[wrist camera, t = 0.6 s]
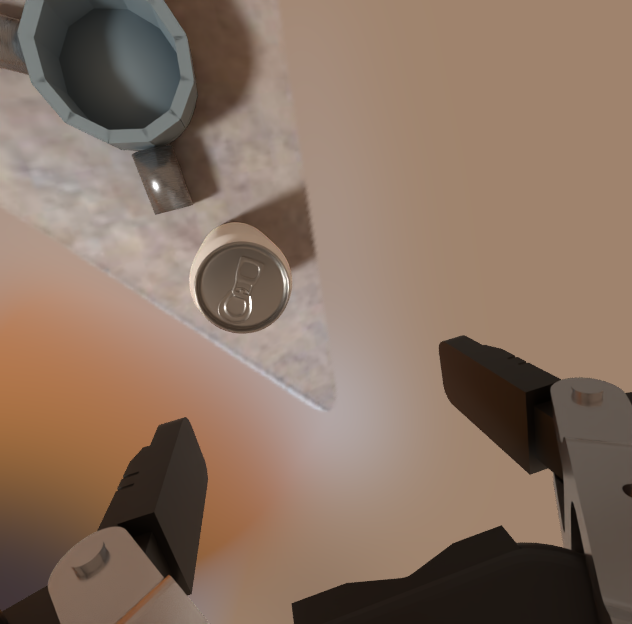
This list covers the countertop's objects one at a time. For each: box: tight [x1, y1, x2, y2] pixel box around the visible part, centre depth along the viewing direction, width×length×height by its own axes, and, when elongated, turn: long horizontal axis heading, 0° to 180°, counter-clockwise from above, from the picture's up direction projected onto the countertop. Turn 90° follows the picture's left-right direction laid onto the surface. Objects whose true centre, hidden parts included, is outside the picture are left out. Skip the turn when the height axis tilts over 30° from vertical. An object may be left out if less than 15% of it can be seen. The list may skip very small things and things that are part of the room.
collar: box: [17, 0, 198, 151], centre depth 24 cm, size 10×10×4 cm
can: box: [189, 222, 292, 333], centre depth 27 cm, size 6×6×12 cm
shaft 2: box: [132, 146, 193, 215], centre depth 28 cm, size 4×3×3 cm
